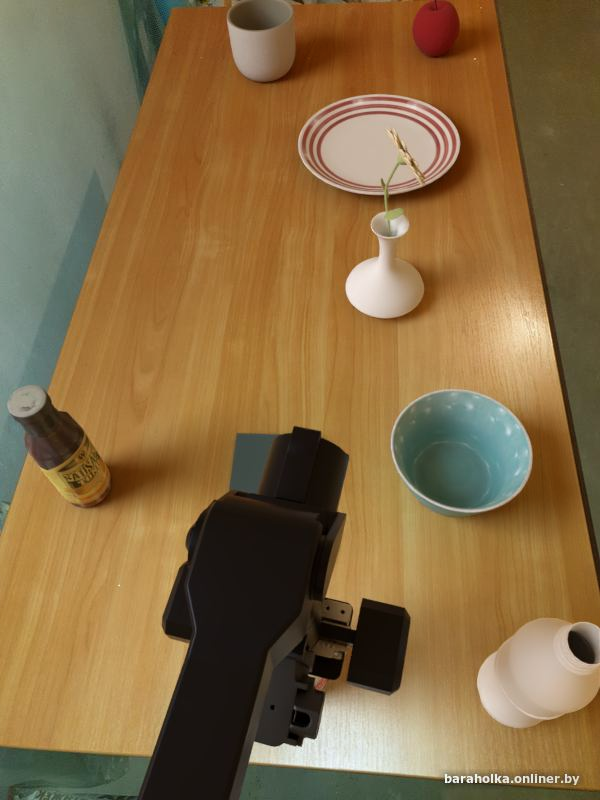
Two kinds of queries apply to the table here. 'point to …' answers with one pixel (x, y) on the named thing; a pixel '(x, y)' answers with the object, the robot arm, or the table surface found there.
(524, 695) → the water bottle
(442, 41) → the apple
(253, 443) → the teal rectangular base
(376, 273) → the flower in vase
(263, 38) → the planter
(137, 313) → the table surface
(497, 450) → the bowl
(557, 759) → the table surface
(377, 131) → the dinner plate
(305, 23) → the table surface
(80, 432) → the sauce bottle
